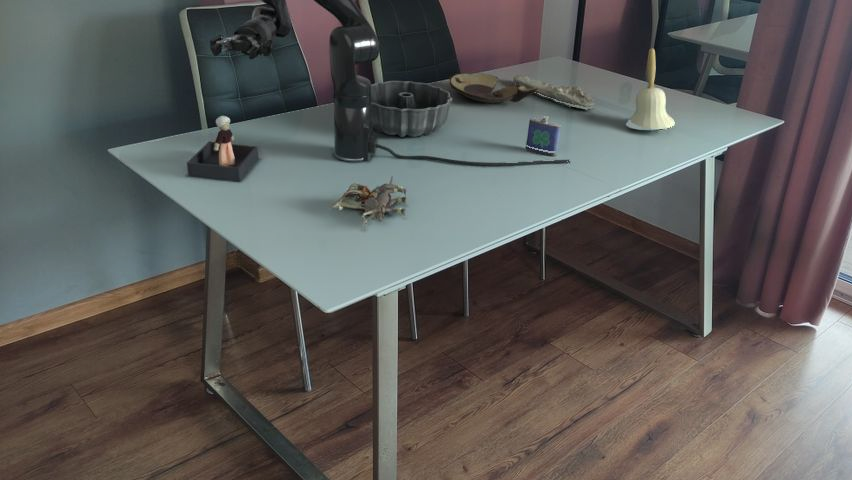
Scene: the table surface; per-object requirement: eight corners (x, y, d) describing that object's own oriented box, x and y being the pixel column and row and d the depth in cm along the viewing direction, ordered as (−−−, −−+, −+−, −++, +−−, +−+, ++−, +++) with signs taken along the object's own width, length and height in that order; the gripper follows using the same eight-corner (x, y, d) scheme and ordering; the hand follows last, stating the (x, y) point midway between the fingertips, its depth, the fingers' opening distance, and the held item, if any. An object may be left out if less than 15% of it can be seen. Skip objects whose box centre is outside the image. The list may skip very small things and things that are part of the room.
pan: (258, 159, 191) (257, 146, 189) (239, 181, 179) (238, 168, 177) (210, 154, 191) (208, 141, 189) (188, 176, 179) (186, 162, 177)
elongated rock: (524, 84, 273) (505, 90, 267) (525, 70, 271) (505, 75, 264) (602, 108, 253) (583, 114, 247) (603, 92, 250) (584, 98, 244)
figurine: (405, 211, 162) (325, 208, 160) (404, 235, 166) (326, 232, 164) (407, 169, 179) (334, 165, 177) (406, 191, 182) (335, 188, 180)
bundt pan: (340, 130, 214) (340, 95, 208) (386, 106, 235) (387, 74, 230) (424, 151, 206) (425, 116, 201) (464, 124, 228) (466, 92, 223)
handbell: (665, 137, 232) (667, 53, 221) (618, 133, 239) (618, 52, 228) (680, 125, 244) (684, 44, 233) (636, 121, 251) (637, 43, 240)
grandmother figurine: (229, 172, 181) (225, 122, 175) (213, 171, 181) (208, 120, 175) (240, 160, 188) (236, 111, 181) (225, 159, 188) (220, 109, 181)
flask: (557, 154, 214) (563, 118, 209) (554, 157, 212) (559, 121, 207) (527, 147, 217) (531, 111, 211) (523, 150, 215) (528, 114, 209)
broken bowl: (482, 83, 265) (484, 61, 261) (544, 109, 248) (547, 86, 244) (433, 92, 251) (434, 69, 247) (494, 120, 234) (497, 96, 230)
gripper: (224, 18, 193) (200, 34, 179) (279, 24, 193) (261, 40, 180) (226, 48, 197) (204, 66, 183) (281, 54, 197) (263, 71, 184)
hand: (232, 53), depth 181 cm, fingers open, 8 cm apart
